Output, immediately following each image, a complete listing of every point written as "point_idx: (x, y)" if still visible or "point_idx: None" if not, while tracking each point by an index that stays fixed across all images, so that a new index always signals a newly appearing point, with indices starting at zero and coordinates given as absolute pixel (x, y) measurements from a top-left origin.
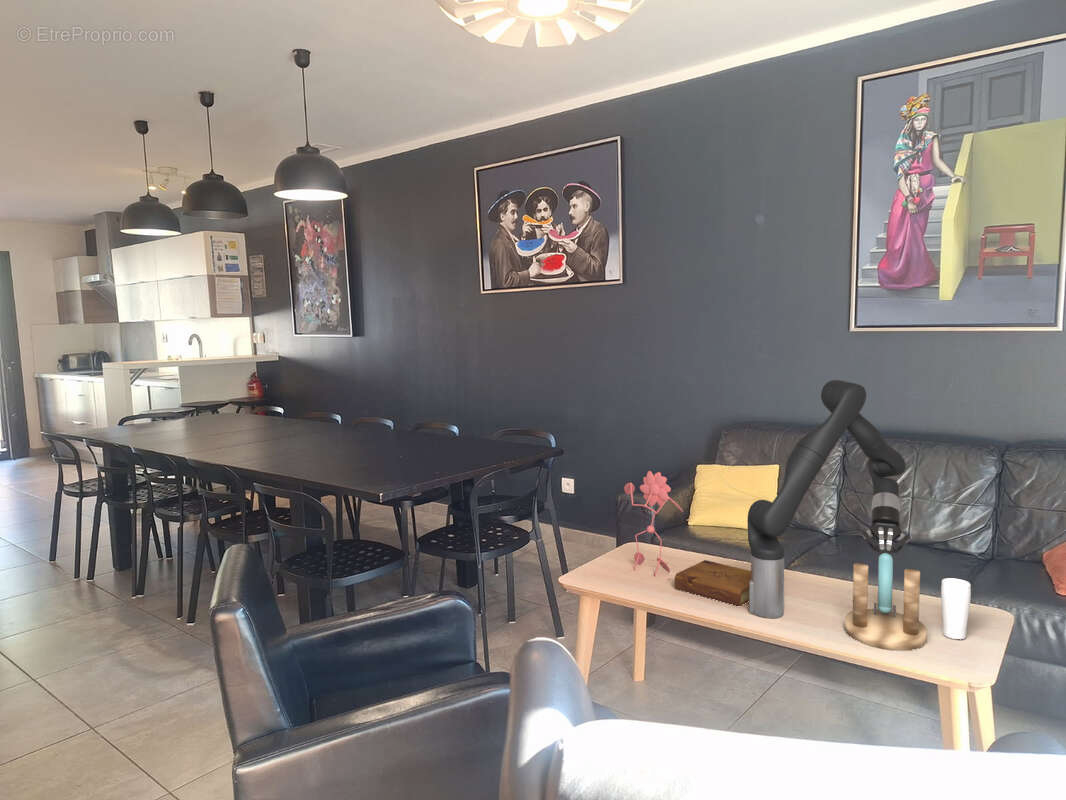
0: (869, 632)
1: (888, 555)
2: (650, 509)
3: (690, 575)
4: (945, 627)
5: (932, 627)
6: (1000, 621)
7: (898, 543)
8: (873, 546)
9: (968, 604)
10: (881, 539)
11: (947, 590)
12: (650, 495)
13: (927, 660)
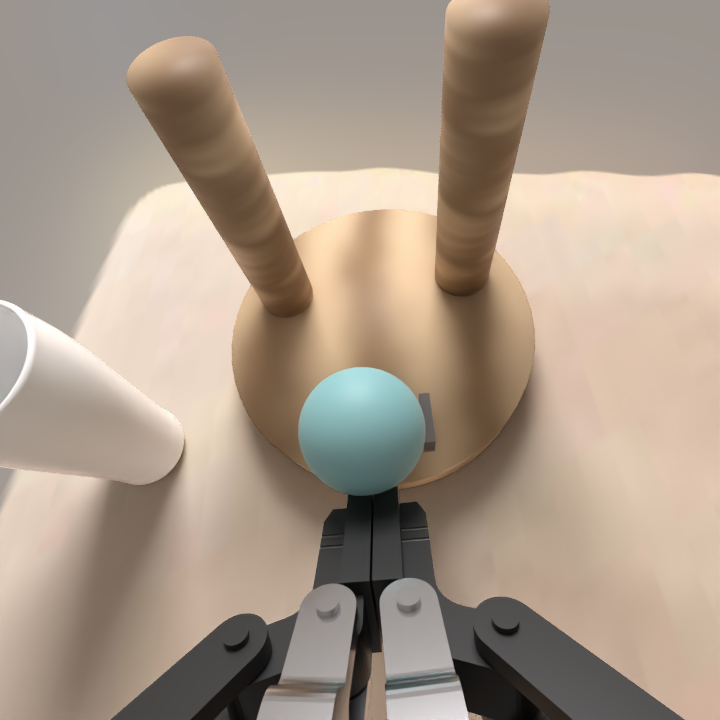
0: (418, 228)
1: (327, 389)
2: None
3: None
4: (164, 412)
5: (214, 505)
6: None
7: (174, 709)
8: (524, 612)
9: (4, 378)
10: (428, 710)
11: (47, 323)
12: None
13: None
